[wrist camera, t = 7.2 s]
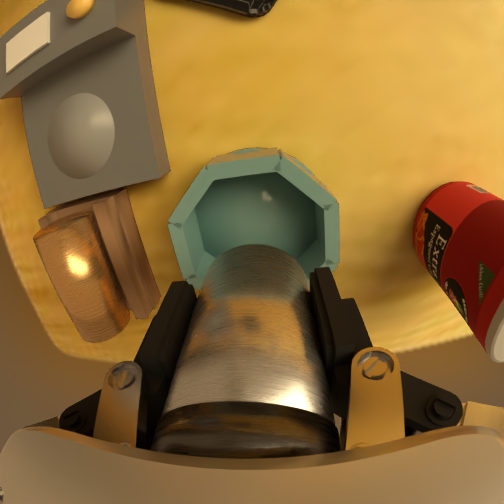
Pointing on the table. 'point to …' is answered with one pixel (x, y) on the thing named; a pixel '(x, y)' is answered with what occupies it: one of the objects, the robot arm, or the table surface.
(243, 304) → the grey cell
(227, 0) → the phone
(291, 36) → the table surface
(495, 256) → the canned food
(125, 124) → the checker
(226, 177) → the teal cup
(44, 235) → the copper cell
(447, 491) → the robot arm
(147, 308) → the walnut trough
